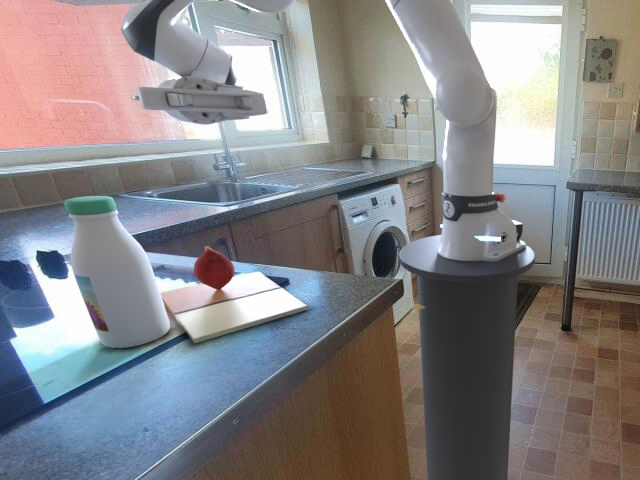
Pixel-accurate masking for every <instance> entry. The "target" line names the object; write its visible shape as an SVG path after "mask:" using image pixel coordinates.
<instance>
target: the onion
mask: <svg viewBox="0 0 640 480" xmlns="http://www.w3.org/2000/svg"><path fill="white" fill-rule="evenodd" d="M193 265H194V266H193V274H194V276H195V278H196V279H197V280H198V281H199V282H200V284H205V285H207V286H209V287H212V288H214V289H217V290H219V289H221V288H223V287H224V286H225V285H226V284H228V283H229V282H230V281H231V280H232V278H233V277H235V274H236V270H235V265H234V264H233V262H232V260H231V259H230V258H229V257H227V256H226V255H224V254H223V253H221V252H219V251H216V250H214V249H213V248H211V246H204V251H203V253H202V254H201V255H200V256H198V257H197V259H196V260H195V262H194V264H193Z"/></svg>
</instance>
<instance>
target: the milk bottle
mask: <svg viewBox="0 0 640 480" xmlns="http://www.w3.org/2000/svg"><path fill="white" fill-rule="evenodd" d="M63 205H64V208H65V210H66V212H67V213H68V218H69V219H72V221H73V225H74V236H73V242H72V246H71V250H70V264H71V270H72V273H73V276H74V278H75V281H76V284H77V287H78V289H79V292H80V295H81V297H82V300H83V302H84V305H85V307H86V309H87V312H88V314H89V317H90V320H91V322H92V325H93V327H94V329H95V332H96V335H97V336H98V339H99V341H100V343H101V344H102V345H104V346H105V347H107V348H109V349H110V348H111V349H124V348H131V347H137V346H141V345H145V344H148V343H151V342H154V341H156V340H158V339H160V338H162V337H164V336H165V335H166V334H168V332H169V331H170V328H171V324H170V323H171V322H170V319H169V316H168V313H167V310H166V305H165V304H164V303H163V300H162V297H161V294H160V293H161V292H160V291H161V290H160V288H159V285H158V282H157V278H156V275H155V272H154V270H153V267H152V264H151V262H150V259H149V257H148V255H147V253H146V251H145V250H144V248H143V246H142V245H141V244H140V243H139V242H138V241H137V240H136V239H135V238H134V237H133V235H131V233H129V232H128V231H127V229H126V228H125V227H124V226H123V224H122V223H121V221H120V220H119V218H118V214H119V211H118V210H117V204H116V201H115V199H114V198H113V196H112V197H111V196H107V195H89V196H78V197H72V198H67V199H64V201H63Z"/></svg>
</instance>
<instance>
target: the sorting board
mask: <svg viewBox="0 0 640 480" xmlns="http://www.w3.org/2000/svg"><path fill="white" fill-rule="evenodd" d="M160 294H161V297H162V300H163V303H164V306H165V308H167V310H168V311H169V312H170V313H171V315H172V316H173V317H174V318H175V320H176V321H177V322H178V324H179V325H180V326H181V327H182V329H183V330H184V332H185V333H186V334H187V335H188V336H189V338H190V339H191V340H192V342H193V343H194V344H199V343H202V342H205V341H208V340H212V339H214V338H218V337H222V336H225V335H228V334H231V333H236V332H238V331H241V330H245V329H248V328H251V327H255V326H258V325H261V324H265V323H269V322H271V321H276V320H278V319H281V318H285V317H288V316H292V315H294V314H298V313H301V312H305V311H308V308H309V307H308V305H307V304H306V303H304V302H303V301H302V300H300V299H298V298H297V297H295V296H294V295H293V294H291V293H290V292H288V291H287V290H285V289H284V288H283V287H282V286H280V285H279V284H277V283H276V282H274V281H273V280H271V279H270V278H269V277H267V276H266V275H264V274H263V273H261V272H260V271H254V272H249V273H246V274H241V275H234V277H233V278H232V280H231V281H230V282H229V283H228V284H226V285H225V286H224V287H223V288H221V289H219V290H217V289H214V288H212V287H209V286H207V285H205V284H203V283H199V284H195V285H190V286H185V287H181V288H176V289H170V290H165V291H162V292H160Z"/></svg>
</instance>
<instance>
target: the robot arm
mask: <svg viewBox="0 0 640 480" xmlns="http://www.w3.org/2000/svg"><path fill="white" fill-rule="evenodd" d="M230 1H231V2H234V3H236V4H239V5H240V6H242V7H245V8H248V9H250V10H252V11H255V12H258V13H262V14H268V15H269V14H272V15H274V14H281V13H285V12H286V11H287V10H289V9H290V7H292V6H293V5H294V4H295V3H296V1H297V0H230ZM194 2H196V0H141V1H140V2H139V3H137V4H135V5H134V6H132V7H131V8H130V9H128V11H127V12H126V13H125V15H124V16H123V19H122V22H121V27H120V30H121V33H122V35H123V37H124V39H125V41H126V42H127V44H128V45H129V47H130V49H132V51H133V52H134V53H136V54H138V55H140V56H142V57H144V58H146V59H147V60H150V61H152V62H156V63H157V64H159V65H161V66H163V67H164V68H166V69H168V70H169V71H171V72H173V73H174V74H176V75H178V76H173V77H170V78H167V79H165V80H163V81H162V82H161V83H160V84H159V85H158V87H153V86H138V87H137V88H136V93H137V95H133V94H132V95H131V99H132V101H137V102H138V101H139V102H140V106H141V108H142V109H144V110H147V111H164V112H165V113H166V114H168V115H169V116H171V117H172V118H174V119H176V120H178V121H182V122H185V123H186V122H187V123H191V124H195V125H205V126H206V125H207V126H208V125H213V124H217V123H222V122H225V121H235V120H236V121H238V120H249V119H250V118H251V117H256V116H262V115H267V114H268V113H269V104H268V99H267V96H266V95H265V94H264V93H262V92H258V91H253V90H248V89H245V88H244V86H240V85H236V84H237V80H238V71H237V67H236V63H235V62H236V61H235V60H234V58H233V56H232V55H231V53H229V52H228V51H227V50H225V49H224V48H222V47H220V46H219V45H218V44H217V43H215V42H214V41H211V40H210V39H209V38H206V37H205V36H204V35H202V34H200V33H199V32H197V31H196V30H194V29H193V28H191V27H190V26H189V25H188V24H185V22H183V21H181V20H180V19H179V18H178V16H179V15H180V14H181V13H182V12H184V11H185V10H186V9H187V8H188V7H190V6H191V5H192V4H193V3H194ZM385 2H386V4H387V6H388V8H389V10H390V12H391V14H392V15H393V17H394V19H395V22H396V23H397V25H398V26H399V29H400V30H401V32H402V34H403V36H404V38H405V40H406V41H407V43H408V45H409V47H410V49H411V51H412V53H413V54H414V56H415V57H414V58H415V59H416V61H417V63H418V66H419V69H420V71H421V73H422V76H423V77H424V80H425V83H426V85H427V87H428V89H429V91H430V93H431V96H432V98H433V100H434V102H435V104H436V106H437V109H438V110H439V112H440V114H441V116H442V117H444V119H445V120H446V121H445V122H446V124H445V135H444V137H445V138H444V145H443V152H442V177H443V178H442V179H443V181H442V182H443V191H442V192H441V209H442V217H443V218H442V224H440V225H439V227H440V228H441V234H440V235H441V240H440V245H439V249H438V253H439V254H440V255H441V256H443V257H445V258H448V259H453V260H459V261H488V262H496V261H499V260H501V259H503V258H505V257H507V256H509V255H511V254H513V253H515V252H517V251H519V250H521V249H523V248H525V247H526V245H527V244H526V242H525V241H523V240H521V237H522V234H523V232H524V231H523V229H524V224H523V222H519V221H516V220H514V219H513V220H512V219H511V218H510V217H508V216H507V215H506V214H505V213H504V212H503V211H502V210H500V209H499V205H498V203H501V204H503V203H505V202H506V199H507V197H506V194H504V193H500V192H497V193H494V158H495V157H494V156H495V144H496V143H495V141H496V127H497V109H498V95H497V90H496V87H495V85H494V83H493V82H492V81H491V79H490V78H488V76H487V75H486V73H485V71H484V69H483V66H482V64H481V62H480V60H479V58H478V56H477V53H476V52H475V49H474V48H473V46H472V45H473V44H472V43H471V41H470V39H469V36H468V35H467V32H466V30H465V27H464V25H463V23H462V21H461V18H460V16H459V15H458V13H457V11H456V9H455V6H454V5H453V2H452V1H451V0H385Z"/></svg>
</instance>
